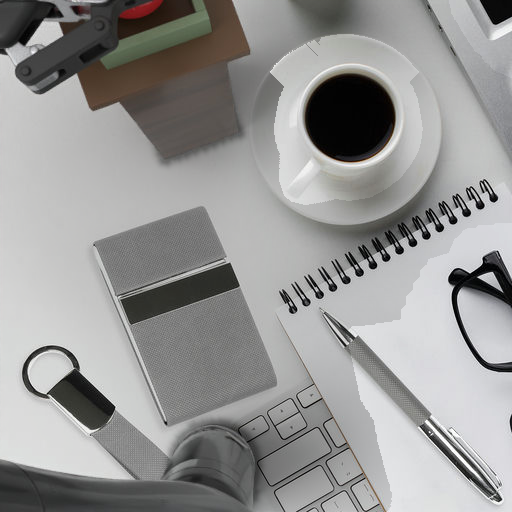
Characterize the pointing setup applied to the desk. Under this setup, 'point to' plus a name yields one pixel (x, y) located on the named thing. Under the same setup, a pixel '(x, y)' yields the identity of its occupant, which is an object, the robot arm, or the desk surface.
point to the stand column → (186, 112)
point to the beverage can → (141, 10)
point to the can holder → (163, 49)
